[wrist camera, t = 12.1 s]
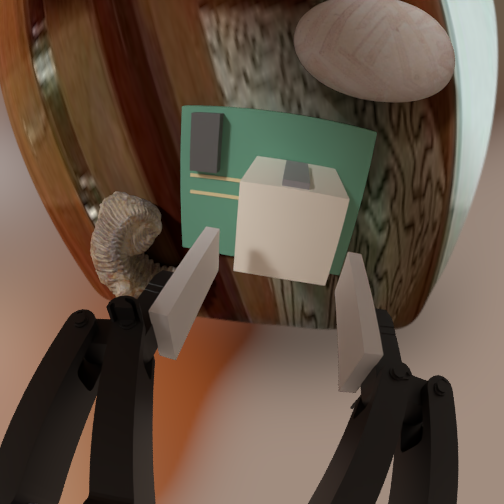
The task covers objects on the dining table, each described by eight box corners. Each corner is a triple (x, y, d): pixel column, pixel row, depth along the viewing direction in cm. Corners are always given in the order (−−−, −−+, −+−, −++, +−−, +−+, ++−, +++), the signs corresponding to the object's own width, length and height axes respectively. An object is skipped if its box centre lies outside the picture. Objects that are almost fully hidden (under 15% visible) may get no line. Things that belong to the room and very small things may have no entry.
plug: (250, 225, 25) (233, 270, 19) (257, 151, 21) (240, 174, 15) (320, 236, 24) (325, 285, 18) (336, 164, 21) (351, 193, 15)
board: (186, 240, 29) (170, 262, 25) (187, 105, 21) (165, 108, 18) (338, 268, 27) (341, 295, 23) (373, 130, 19) (387, 137, 16)
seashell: (138, 172, 30) (64, 202, 23) (194, 175, 24) (98, 214, 18) (160, 268, 36) (102, 306, 30) (213, 292, 31) (146, 344, 24)
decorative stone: (300, 99, 19) (299, 99, 15) (288, 5, 15) (283, -17, 11) (442, 110, 17) (470, 116, 13) (432, 19, 12) (457, 7, 8)
